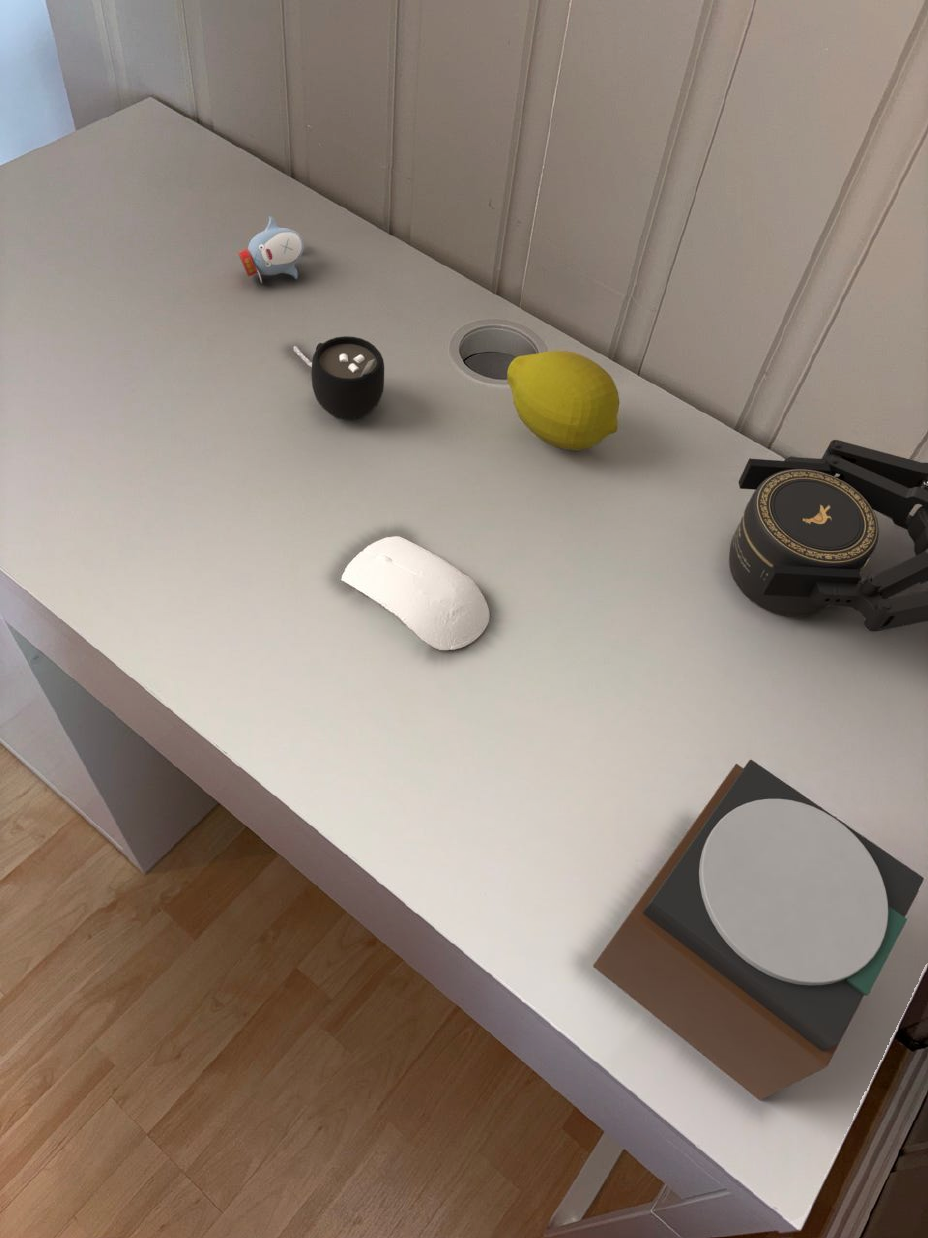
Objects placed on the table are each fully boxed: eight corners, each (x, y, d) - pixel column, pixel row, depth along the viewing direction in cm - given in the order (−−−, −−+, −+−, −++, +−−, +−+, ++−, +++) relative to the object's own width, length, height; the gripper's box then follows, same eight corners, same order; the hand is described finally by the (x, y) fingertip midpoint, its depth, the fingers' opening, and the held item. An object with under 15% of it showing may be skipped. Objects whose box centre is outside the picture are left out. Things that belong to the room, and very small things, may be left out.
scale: (847, 942, 63) (942, 873, 53) (759, 1101, 57) (848, 1057, 47) (689, 828, 67) (750, 742, 57) (592, 966, 61) (640, 898, 51)
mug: (398, 413, 87) (402, 346, 81) (341, 441, 85) (340, 375, 79) (321, 338, 92) (318, 270, 86) (264, 363, 89) (257, 295, 83)
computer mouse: (391, 528, 80) (392, 509, 78) (504, 613, 76) (508, 595, 74) (331, 576, 76) (331, 557, 74) (447, 666, 73) (449, 650, 71)
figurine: (295, 238, 100) (325, 253, 98) (240, 286, 98) (270, 303, 96) (279, 196, 95) (310, 212, 94) (221, 246, 93) (252, 263, 92)
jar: (854, 558, 82) (895, 497, 76) (824, 644, 77) (865, 586, 71) (742, 511, 84) (773, 448, 78) (705, 591, 79) (735, 530, 73)
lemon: (630, 444, 88) (652, 376, 81) (574, 487, 84) (593, 419, 78) (541, 381, 91) (555, 310, 85) (483, 419, 88) (494, 349, 81)
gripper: (1052, 689, 74) (764, 675, 72) (964, 469, 87) (719, 453, 85) (1115, 634, 68) (802, 616, 66) (1011, 406, 80) (747, 387, 79)
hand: (755, 524), depth 75 cm, fingers closed on jar, 10 cm apart
